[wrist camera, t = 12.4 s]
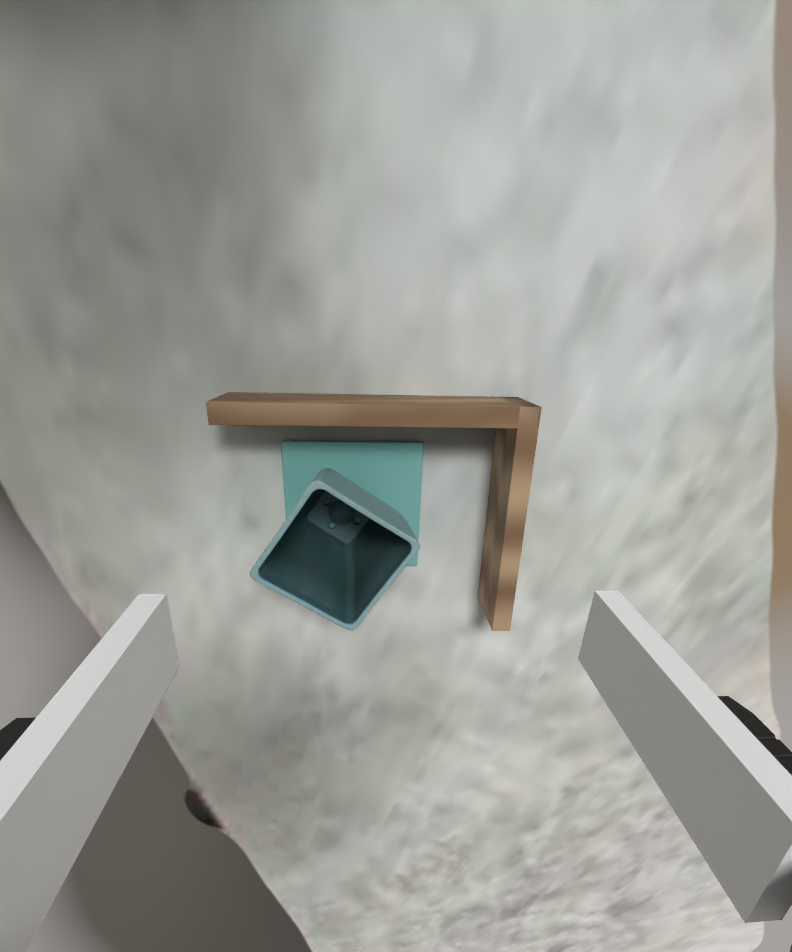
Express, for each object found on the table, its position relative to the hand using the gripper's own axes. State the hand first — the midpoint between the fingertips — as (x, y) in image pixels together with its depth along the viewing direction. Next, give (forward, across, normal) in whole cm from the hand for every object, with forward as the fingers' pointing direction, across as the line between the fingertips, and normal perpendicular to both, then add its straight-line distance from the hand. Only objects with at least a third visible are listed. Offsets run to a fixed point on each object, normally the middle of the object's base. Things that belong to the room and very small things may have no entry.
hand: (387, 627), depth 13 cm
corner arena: (+24, 0, -7) cm, 25 cm away
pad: (+24, -2, -7) cm, 25 cm away
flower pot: (+24, -3, -7) cm, 25 cm away
